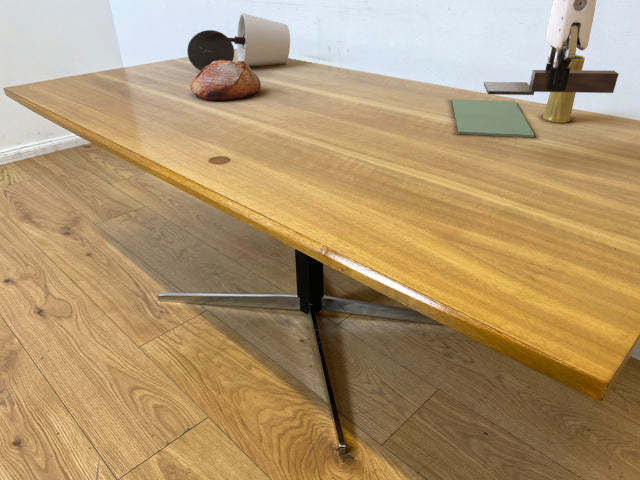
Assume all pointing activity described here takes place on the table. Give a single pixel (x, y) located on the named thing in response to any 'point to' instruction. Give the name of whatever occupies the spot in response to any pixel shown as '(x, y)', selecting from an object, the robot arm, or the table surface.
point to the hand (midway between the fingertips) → (553, 87)
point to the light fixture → (243, 44)
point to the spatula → (576, 83)
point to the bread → (225, 81)
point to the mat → (490, 118)
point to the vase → (562, 99)
